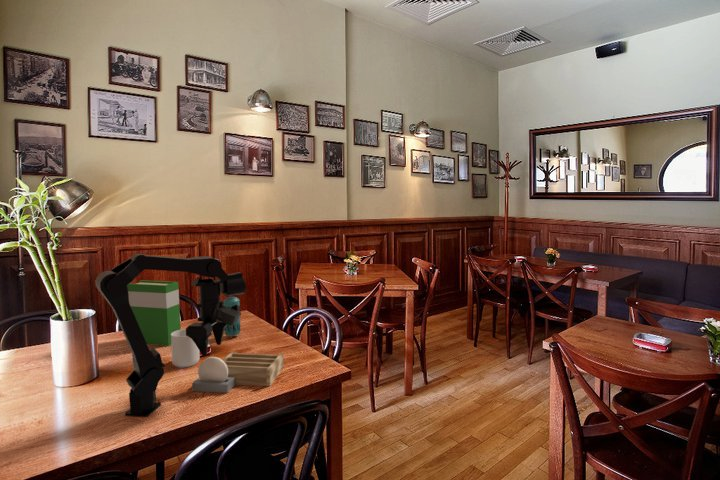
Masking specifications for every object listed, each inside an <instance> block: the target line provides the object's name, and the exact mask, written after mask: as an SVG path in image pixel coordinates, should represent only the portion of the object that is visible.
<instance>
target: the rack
mask: <svg viewBox="0 0 720 480" xmlns="http://www.w3.org/2000/svg"><path fill="white" fill-rule="evenodd" d="M284 359H285V358H284V353H283V352H280V353H279V354H274V353H270V354H269V353H267V354H266V353H247V352H246V353H242V352H236V351H235V350H234V351H231V352H230V353H229V354H227V356H225V357H224V358H222V360H223V361H224V362H225V363H226V365H227V367H228V377H235V385H239V386H243V385H244V386H256V387H257V386H260V387H261V386H262V387H263V386H264V387H271V386H272V384H273V383H274V381H275V380H276V379H277V377H278V376H279V375H280V373H281V372H282V371H283V369H284V368H285V365H284V364H285V363H284Z"/></svg>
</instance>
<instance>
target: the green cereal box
mask: <svg viewBox="0 0 720 480" xmlns="http://www.w3.org/2000/svg"><path fill="white" fill-rule="evenodd" d="M138 281H139V282H137V283H132V282H130V283H129V284H128V285H127V288H128V293H129V304H130V306H131V309H132V311H133V313H134V315H135V318H136V320H137V322H138V325H139V327H140V329H141V332H142V334H143V336H144V339H145V341H146V343H147V345H153V346H164V347H166V346H167V347H169V346H170V347H171V333H172V332H174V331H177V330H181V329H182V328H181V313H180V293H179V292H180V291H179V290H180V289H179V282H178V281H165V280H164V281H163V280H147V279H146V280H145V279H141V280H138Z"/></svg>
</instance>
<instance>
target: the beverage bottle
mask: <svg viewBox="0 0 720 480" xmlns="http://www.w3.org/2000/svg"><path fill="white" fill-rule="evenodd" d="M240 301H241V300H240V298H238V297H237V296H235V295H232V296H227V297H226V298H225V299H224V300H223V302H224V306H225V307H230V308H231V307H232V306H233V305H235V304H236V305H239V306H240V307H241V305H240ZM224 334H225V336H229V337H230V336H233V337H234V336H237V335H239V334H241V316H239V319H238V322H237V323H235V324H234V325H232V326H230V325H227V326H226V327H225V330H224Z"/></svg>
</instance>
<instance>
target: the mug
mask: <svg viewBox="0 0 720 480" xmlns="http://www.w3.org/2000/svg"><path fill="white" fill-rule="evenodd" d="M170 347H171V348H170V349H171V362H172V365H173V366H174V367H176V368H180V369H181V368H183V369H184V368H189V367H193V366H195V365H197V364H198V362H199V361H200V358H201V356H200V354H201V353H200V351H199V349H198V347H197V346H196V344H195V343H194V341H193V340H192V339H191V338H189V336H186V328H183V329H182V328H181V330H177V331H174V332H172V333H171V345H170Z"/></svg>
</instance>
